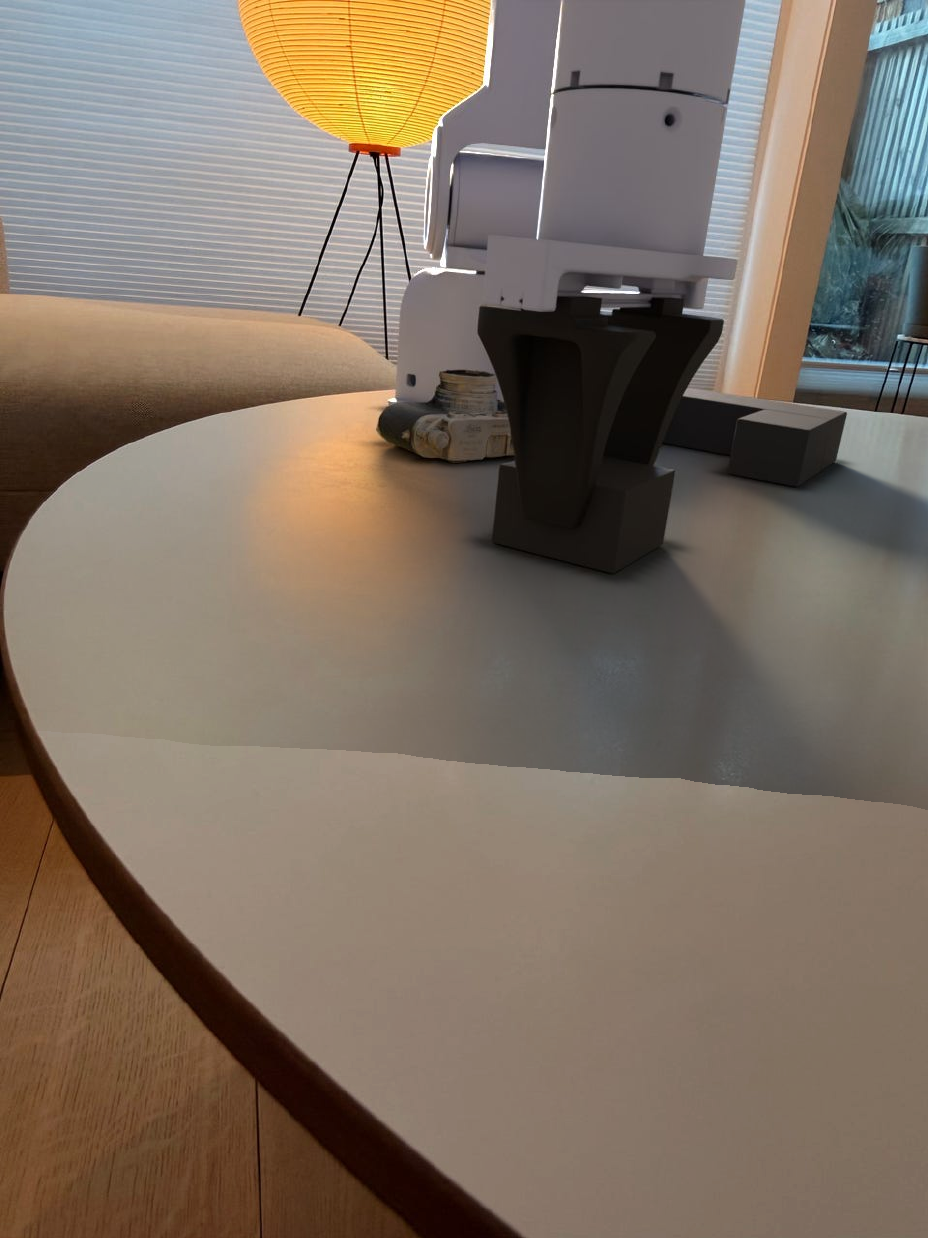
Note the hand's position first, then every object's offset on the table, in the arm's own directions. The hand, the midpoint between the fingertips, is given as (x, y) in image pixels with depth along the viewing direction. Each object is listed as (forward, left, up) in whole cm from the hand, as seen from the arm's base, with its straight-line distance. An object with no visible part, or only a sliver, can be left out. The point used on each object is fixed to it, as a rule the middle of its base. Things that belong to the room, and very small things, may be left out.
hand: (583, 508), depth 35 cm
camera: (-12, +12, -2) cm, 17 cm away
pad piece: (0, 0, -1) cm, 1 cm away
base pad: (-3, +24, -1) cm, 24 cm away
